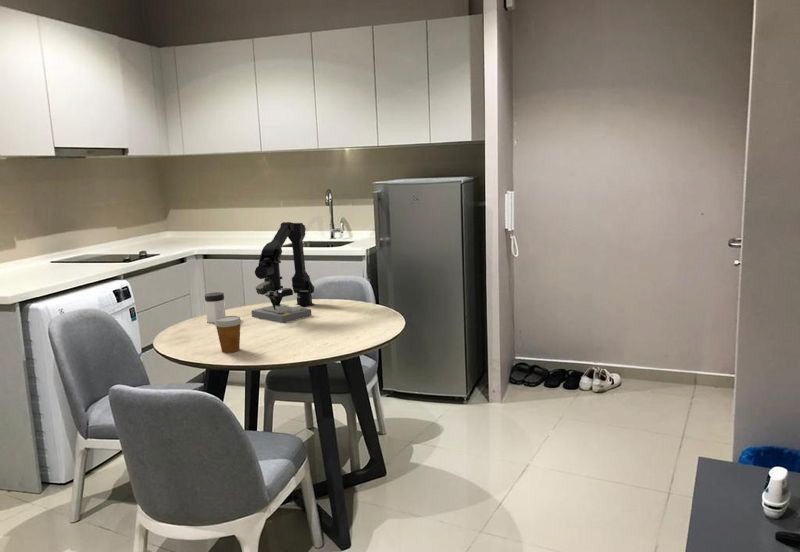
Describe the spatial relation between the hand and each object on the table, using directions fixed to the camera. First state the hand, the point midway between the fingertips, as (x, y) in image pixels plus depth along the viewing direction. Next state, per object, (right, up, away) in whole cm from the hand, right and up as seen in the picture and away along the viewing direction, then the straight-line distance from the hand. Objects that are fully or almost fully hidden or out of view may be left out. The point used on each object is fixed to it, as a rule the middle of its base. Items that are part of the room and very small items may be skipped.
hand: (276, 310), depth 286 cm
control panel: (+1, -3, +6) cm, 6 cm away
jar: (-27, -5, +3) cm, 27 cm away
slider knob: (+2, -1, -2) cm, 3 cm away
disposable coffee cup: (-8, -13, -46) cm, 48 cm away
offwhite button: (+7, -1, +4) cm, 8 cm away
